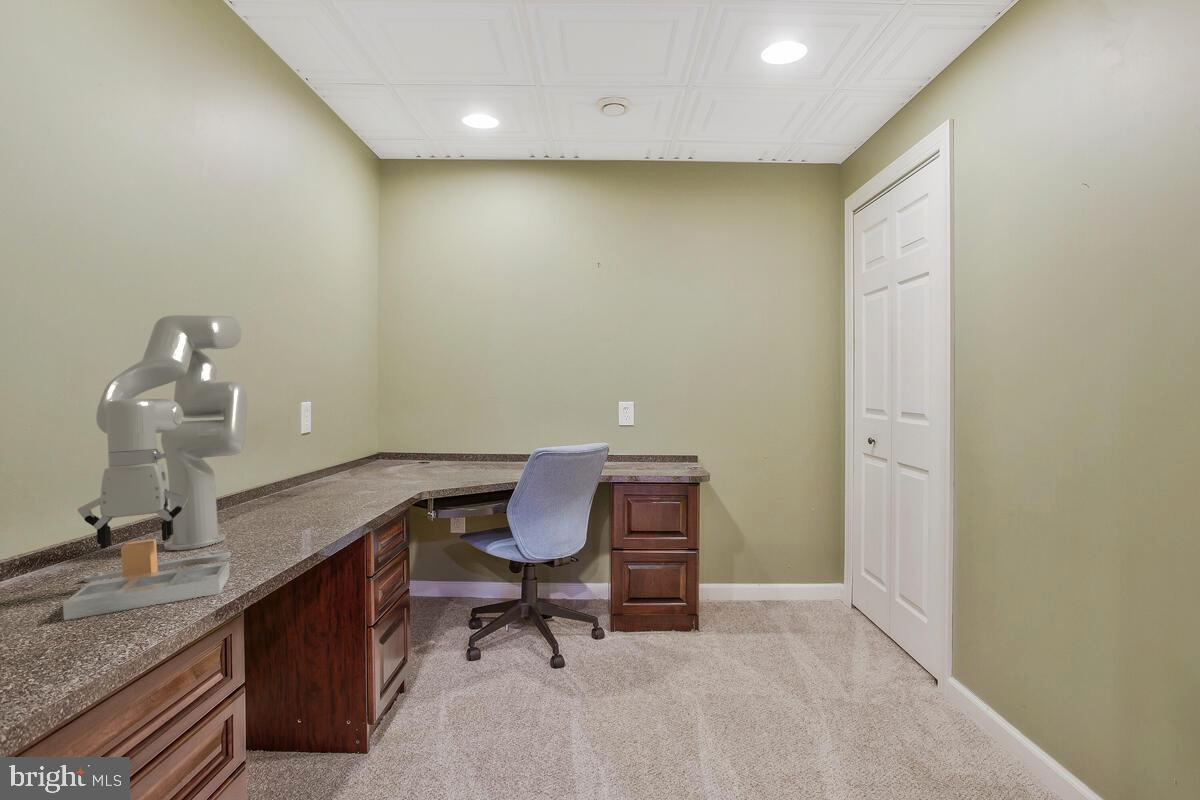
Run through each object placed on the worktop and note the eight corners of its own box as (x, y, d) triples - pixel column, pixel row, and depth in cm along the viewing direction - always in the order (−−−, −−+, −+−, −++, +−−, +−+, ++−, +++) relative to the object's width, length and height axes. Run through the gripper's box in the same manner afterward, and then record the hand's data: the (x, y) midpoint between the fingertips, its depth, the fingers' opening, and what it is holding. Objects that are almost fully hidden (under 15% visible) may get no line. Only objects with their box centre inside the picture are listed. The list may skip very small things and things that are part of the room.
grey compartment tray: (91, 597, 103) (90, 581, 103) (229, 575, 113) (229, 560, 113) (63, 620, 92) (62, 603, 92) (219, 593, 102) (218, 578, 102)
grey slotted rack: (82, 586, 111) (81, 578, 111) (91, 577, 116) (90, 569, 116) (229, 561, 124) (228, 553, 124) (231, 554, 129) (230, 546, 129)
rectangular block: (130, 580, 112) (128, 542, 112) (158, 576, 114) (155, 538, 114) (123, 587, 108) (121, 547, 108) (151, 582, 110) (149, 544, 110)
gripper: (189, 454, 117) (193, 533, 117) (84, 462, 109) (88, 546, 109) (181, 457, 110) (185, 540, 110) (68, 465, 103) (72, 554, 102)
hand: (136, 543), depth 110 cm, fingers open, 9 cm apart
